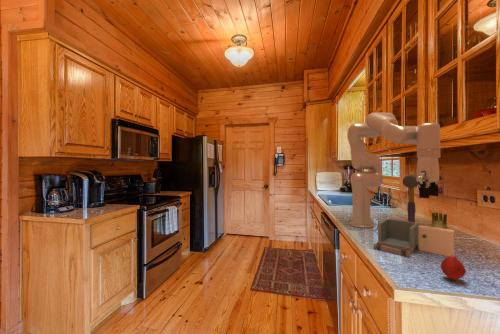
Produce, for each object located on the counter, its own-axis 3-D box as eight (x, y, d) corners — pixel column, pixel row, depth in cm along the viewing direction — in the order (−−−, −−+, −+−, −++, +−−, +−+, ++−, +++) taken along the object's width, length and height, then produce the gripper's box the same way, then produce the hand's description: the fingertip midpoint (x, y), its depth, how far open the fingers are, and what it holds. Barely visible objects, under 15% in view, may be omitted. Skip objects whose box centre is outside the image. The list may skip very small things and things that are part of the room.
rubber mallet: (418, 231, 124) (418, 175, 123) (401, 228, 129) (401, 174, 128) (420, 226, 133) (420, 174, 133) (405, 224, 138) (405, 173, 137)
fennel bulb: (448, 238, 112) (448, 213, 112) (440, 239, 111) (440, 214, 111) (436, 234, 118) (436, 211, 118) (428, 235, 117) (428, 211, 117)
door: (420, 248, 100) (420, 225, 100) (453, 255, 92) (454, 230, 92) (418, 250, 97) (418, 227, 97) (453, 258, 89) (453, 232, 89)
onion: (438, 279, 74) (438, 254, 74) (443, 273, 77) (443, 249, 77) (463, 286, 69) (463, 260, 69) (467, 280, 73) (467, 255, 72)
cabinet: (386, 238, 112) (386, 218, 112) (418, 245, 103) (418, 223, 103) (373, 249, 100) (373, 225, 99) (409, 257, 90) (409, 232, 90)
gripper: (425, 155, 101) (426, 194, 101) (408, 154, 91) (409, 197, 91) (447, 154, 95) (448, 195, 95) (431, 153, 85) (432, 199, 85)
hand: (429, 196), depth 93 cm, fingers open, 9 cm apart
